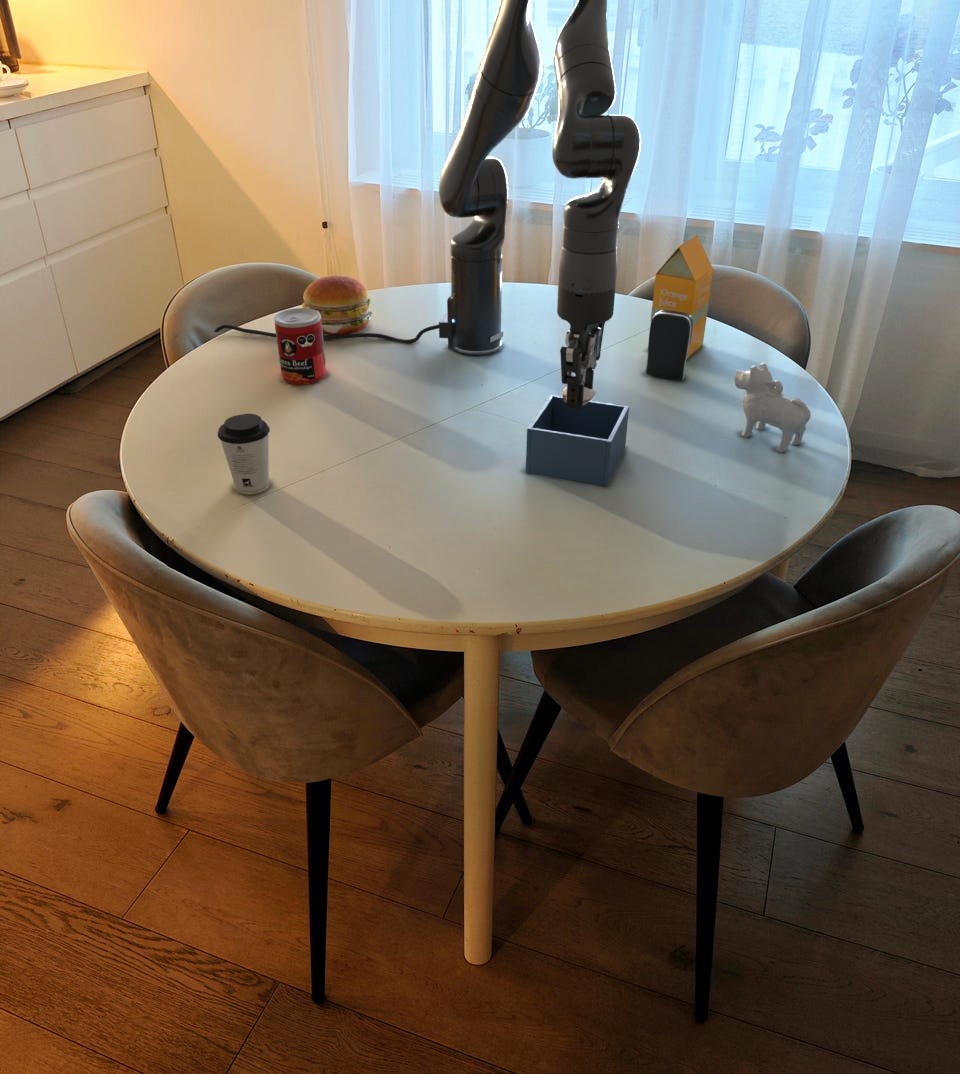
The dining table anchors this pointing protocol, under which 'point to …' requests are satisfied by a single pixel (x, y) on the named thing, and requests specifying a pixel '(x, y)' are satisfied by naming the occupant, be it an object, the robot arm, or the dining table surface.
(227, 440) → the coffee cup
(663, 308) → the orange juice
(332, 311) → the burger
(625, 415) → the blue open box
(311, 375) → the canned food
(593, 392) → the cream rounded dome
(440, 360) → the dining table surface
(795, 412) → the dog figurine
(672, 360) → the battery charger
